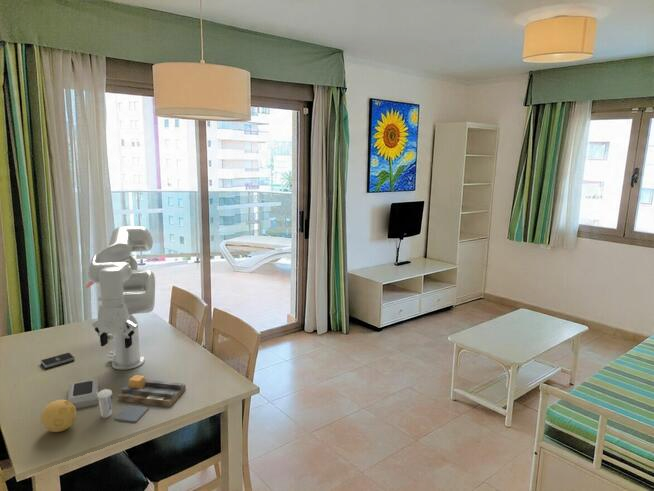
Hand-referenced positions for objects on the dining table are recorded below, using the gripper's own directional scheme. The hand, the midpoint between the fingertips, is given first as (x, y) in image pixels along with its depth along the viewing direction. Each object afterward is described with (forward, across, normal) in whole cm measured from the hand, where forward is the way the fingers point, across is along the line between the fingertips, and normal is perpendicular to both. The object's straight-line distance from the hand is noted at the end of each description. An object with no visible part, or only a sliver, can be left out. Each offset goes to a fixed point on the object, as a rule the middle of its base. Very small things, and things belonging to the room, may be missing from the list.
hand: (116, 345), depth 165 cm
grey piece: (+18, +13, 0) cm, 23 cm away
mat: (+18, +13, -13) cm, 26 cm away
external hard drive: (+19, -38, +16) cm, 46 cm away
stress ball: (+19, -5, -25) cm, 32 cm away
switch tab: (+16, +7, 0) cm, 18 cm away
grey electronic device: (+19, -11, -6) cm, 23 cm away
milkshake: (+19, +4, -15) cm, 24 cm away
